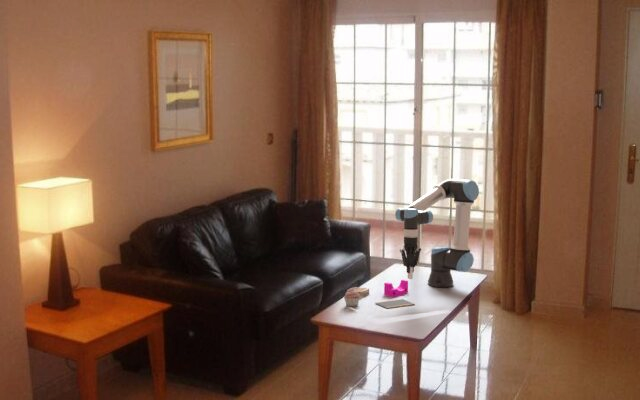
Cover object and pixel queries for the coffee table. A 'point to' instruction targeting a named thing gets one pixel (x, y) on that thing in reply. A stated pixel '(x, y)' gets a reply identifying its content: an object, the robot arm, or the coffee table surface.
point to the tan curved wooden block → (361, 291)
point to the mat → (394, 303)
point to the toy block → (398, 291)
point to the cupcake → (352, 298)
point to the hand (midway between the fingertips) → (410, 278)
